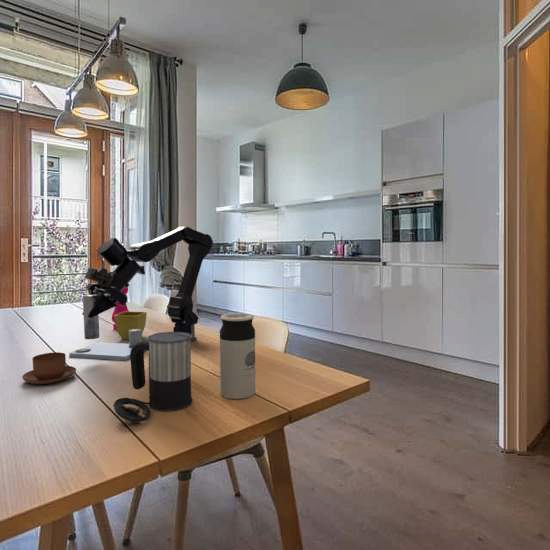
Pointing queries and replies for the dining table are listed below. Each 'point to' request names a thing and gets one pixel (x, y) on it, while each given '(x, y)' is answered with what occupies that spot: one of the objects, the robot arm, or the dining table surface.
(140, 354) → the milk frother
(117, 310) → the pepper mill
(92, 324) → the grey metallic rounded cylinder
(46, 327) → the dining table surface
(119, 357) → the flange plate
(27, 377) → the cup and saucer
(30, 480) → the dining table surface
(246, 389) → the travel mug
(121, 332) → the flower pot
